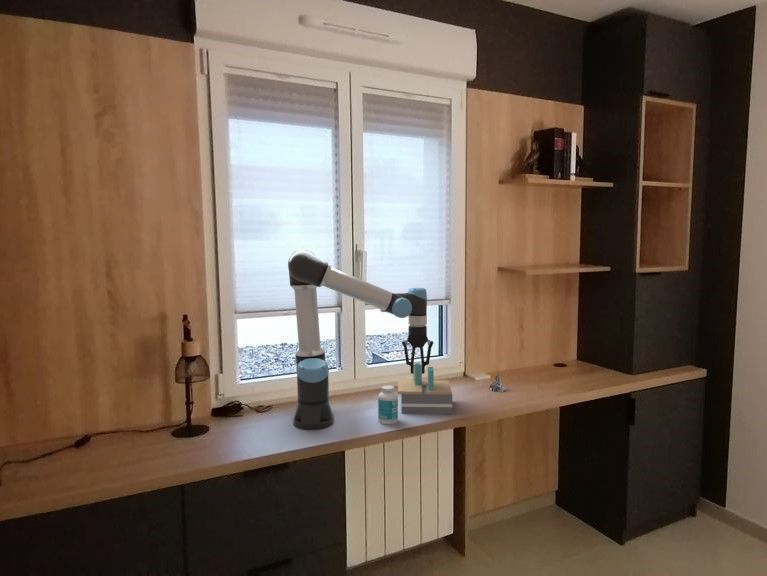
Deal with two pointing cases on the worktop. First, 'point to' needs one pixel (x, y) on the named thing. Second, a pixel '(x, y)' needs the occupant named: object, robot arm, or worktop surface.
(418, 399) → the carton
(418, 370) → the flap
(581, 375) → the worktop surface
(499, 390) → the grey irregular piece
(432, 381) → the flap
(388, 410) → the pill bottle
